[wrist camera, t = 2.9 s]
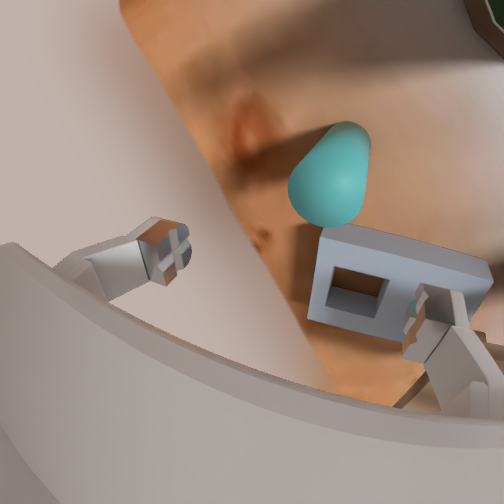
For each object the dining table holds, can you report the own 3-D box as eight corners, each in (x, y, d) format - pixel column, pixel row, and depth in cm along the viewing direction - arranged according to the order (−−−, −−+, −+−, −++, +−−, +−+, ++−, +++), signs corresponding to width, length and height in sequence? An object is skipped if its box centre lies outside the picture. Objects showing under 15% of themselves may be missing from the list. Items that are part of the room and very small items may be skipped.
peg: (327, 118, 19) (289, 150, 12) (373, 125, 18) (369, 164, 10) (324, 160, 21) (286, 219, 14) (367, 168, 20) (356, 234, 13)
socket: (327, 218, 24) (319, 236, 22) (486, 260, 18) (493, 281, 16) (314, 298, 30) (306, 318, 28) (445, 330, 25) (446, 352, 22)
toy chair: (437, 235, 20) (455, 380, 10) (531, 266, 16) (570, 389, 6) (396, 326, 27) (377, 444, 17) (479, 344, 23) (481, 452, 13)
